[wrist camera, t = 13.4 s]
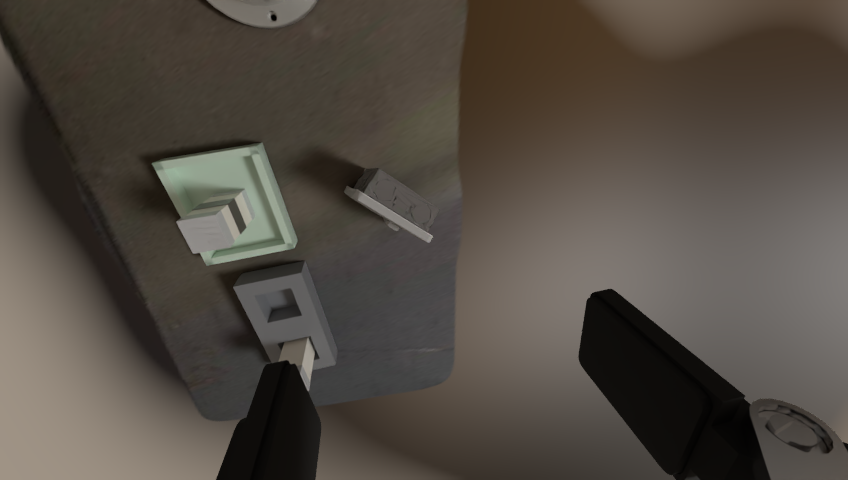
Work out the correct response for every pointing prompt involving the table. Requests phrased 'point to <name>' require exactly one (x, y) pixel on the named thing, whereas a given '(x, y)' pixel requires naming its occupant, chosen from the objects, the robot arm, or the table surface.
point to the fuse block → (286, 310)
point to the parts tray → (231, 171)
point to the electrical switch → (394, 203)
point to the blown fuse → (217, 221)
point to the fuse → (300, 356)
